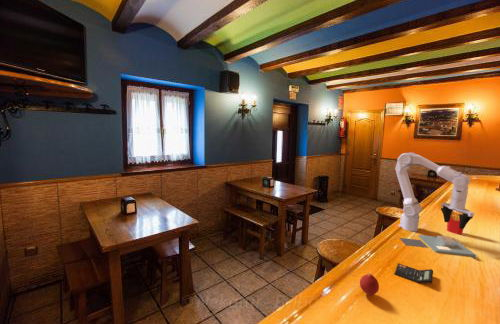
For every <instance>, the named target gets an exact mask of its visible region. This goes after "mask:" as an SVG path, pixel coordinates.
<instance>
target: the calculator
mask: <svg viewBox="0 0 500 324" xmlns="http://www.w3.org/2000/svg"><path fill="white" fill-rule="evenodd" d="M393 275H394V276H398V277H401V278H403V279H405V280H409V281H411V282H414V283H416V284H432V283H433V275H434V270H433V269H432V268H430V269H429V268H428V269H418V268H414V267H411V266H408V265H405V264H402V263H397V265H396V268H395V271H394V274H393Z"/></svg>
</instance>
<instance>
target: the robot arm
mask: <svg viewBox="0 0 500 324" xmlns="http://www.w3.org/2000/svg"><path fill="white" fill-rule="evenodd" d="M411 165H421V166H424V167H425V168H427V169H430V170H432V171H434V172H435V173H436V174H437V176H439V177H440V178H442V179H444V180H446V181H448V182H450V183H452V184H453V185H452V186H453V187H452V190H451V194H450V195H451V196H450V203H447V202H441V206H440V210H441V213H442V215H443V220H444V223H447V222H449V221H450V216H451V214H452V211H457V212H460V213H462V214H459V218H460V223H459V228H460V229H463V230H464V229H465V228H466V226H467V224H468V222H470V220H472V219H473V218H474V216H475V213H474V212H473V211H471V210H469V209H467V208H466V203H467V197H468V194H469V193H468V192H469V185H470V183H471V181H472V180H471V177H470V176H469V175H467V174H466V173H462V172H461V171H457V170H454V169H453V168H451V166H449V165H447V166H446V165H441V166H440V165H438V164H437V163H435V162H433V161H432V160H430V159H428V158H425V157H424V156H422V155H420V154H417V153H415V152H404V153H401V154H400V155H399V156H398V158H397V162H396V165H395V168H394V169H395V173H396V177H397V180H398V184H399V186H400V190H401V193H402V197H403V203H402V204H403V209H402V211H403V213H402V214H401V215H400V220H399V221H400V223H399V224H398V225H397V226H398V227H400V228H402V229H403V230H405V231H408V232H412V233H414V232H417V231H418V230H419V229H418V228H419V221H420V213H421V212H422V210H423V207H422V206H421V204H420V203H419V202H418V199H417V198H416V197H415V194H414V190H413V188H412V183H411V181H410V178H409V174H408V169H409V168H410V167H411Z"/></svg>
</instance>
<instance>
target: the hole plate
mask: <svg viewBox="0 0 500 324" xmlns="http://www.w3.org/2000/svg"><path fill="white" fill-rule="evenodd" d="M418 238H419V240H421V241H422V242H423V243H424V244H425V245H426V246H427V247H428V248H430V249H431V250H432V251H434V252H435V253H438V254H447V255H456V256H463V257H470V258H471V259H474V260H475V259H476V257H477V254H476V253H474V252H473V251H471V250H470V249H469V248H467V247H466V246H464V245H463V244H462V243H460V242H459V241H457V240H456V239H455V238H452V237H450V238H451V239H453V240H454V241H455V246H454V247H447V246H442V245H441V244H440V243H438V242H437V236H431V235H424V234H419V235H418Z"/></svg>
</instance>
